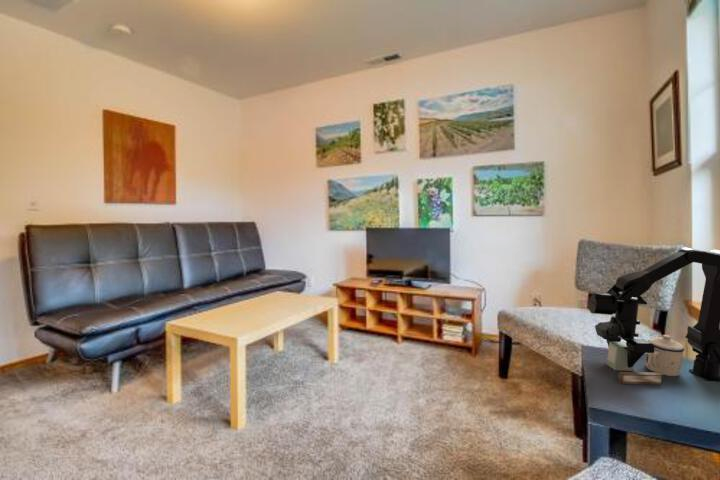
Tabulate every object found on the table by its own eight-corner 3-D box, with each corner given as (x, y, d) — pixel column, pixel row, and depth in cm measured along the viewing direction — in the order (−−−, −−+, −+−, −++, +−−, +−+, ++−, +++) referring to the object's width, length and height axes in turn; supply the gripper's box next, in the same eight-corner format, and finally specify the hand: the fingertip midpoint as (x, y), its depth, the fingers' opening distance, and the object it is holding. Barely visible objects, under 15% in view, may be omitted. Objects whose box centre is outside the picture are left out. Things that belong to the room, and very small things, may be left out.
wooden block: (657, 381, 111) (658, 372, 111) (661, 384, 109) (662, 375, 109) (617, 381, 111) (618, 371, 111) (621, 384, 109) (622, 374, 109)
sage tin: (606, 364, 122) (608, 341, 121) (625, 364, 122) (627, 341, 121) (614, 370, 118) (617, 346, 117) (634, 370, 118) (636, 347, 117)
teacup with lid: (653, 361, 125) (657, 328, 123) (686, 373, 117) (691, 338, 115) (633, 368, 119) (638, 334, 118) (667, 381, 111) (672, 345, 110)
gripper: (583, 306, 127) (579, 348, 129) (621, 325, 108) (615, 375, 110) (615, 306, 127) (610, 349, 129) (659, 326, 108) (652, 376, 110)
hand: (620, 361), depth 120 cm, fingers open, 8 cm apart
